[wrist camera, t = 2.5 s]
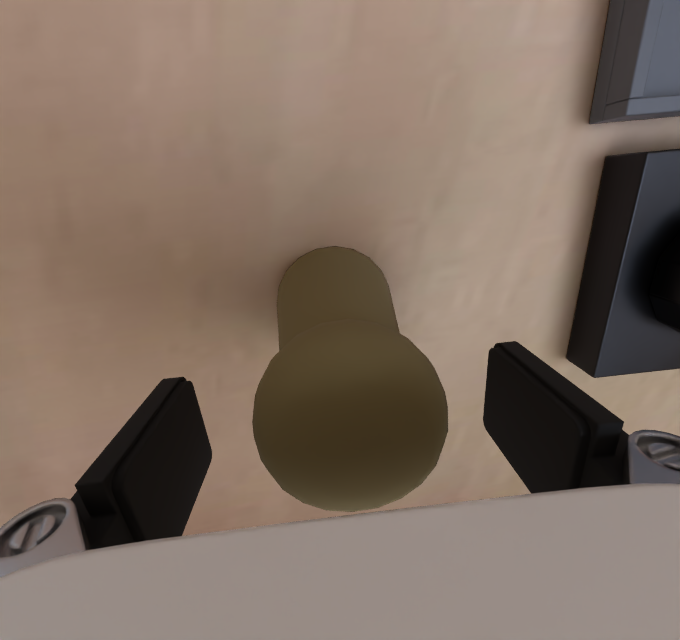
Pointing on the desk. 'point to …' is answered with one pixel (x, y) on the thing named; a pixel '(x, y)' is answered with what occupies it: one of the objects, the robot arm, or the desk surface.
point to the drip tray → (639, 62)
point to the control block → (632, 270)
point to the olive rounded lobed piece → (346, 390)
